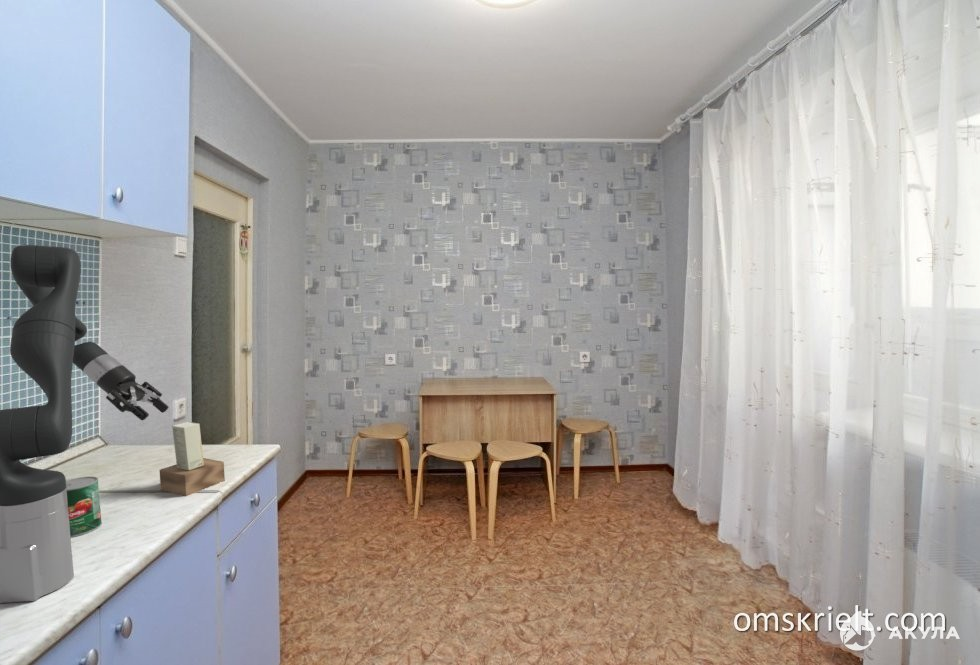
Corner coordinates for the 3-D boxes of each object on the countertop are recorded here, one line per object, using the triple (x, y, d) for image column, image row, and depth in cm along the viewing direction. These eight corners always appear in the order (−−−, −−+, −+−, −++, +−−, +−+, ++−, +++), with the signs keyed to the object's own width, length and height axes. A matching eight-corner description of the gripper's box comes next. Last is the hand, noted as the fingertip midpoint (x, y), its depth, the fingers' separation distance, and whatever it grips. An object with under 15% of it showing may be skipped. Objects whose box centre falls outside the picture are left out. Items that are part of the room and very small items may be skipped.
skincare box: (204, 465, 128) (201, 423, 127) (187, 471, 124) (184, 427, 123) (191, 462, 131) (188, 421, 130) (175, 467, 127) (171, 425, 126)
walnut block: (186, 497, 122) (184, 475, 121) (160, 490, 126) (159, 469, 126) (224, 482, 132) (223, 461, 131) (200, 476, 136) (198, 457, 136)
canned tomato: (97, 517, 110) (94, 473, 109) (105, 527, 105) (101, 481, 104) (52, 531, 104) (48, 484, 103) (58, 542, 99) (54, 493, 98)
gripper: (99, 368, 118) (148, 410, 120) (137, 361, 133) (181, 398, 134) (79, 389, 118) (128, 430, 120) (119, 379, 133) (163, 417, 134)
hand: (156, 413), depth 127 cm, fingers open, 8 cm apart
